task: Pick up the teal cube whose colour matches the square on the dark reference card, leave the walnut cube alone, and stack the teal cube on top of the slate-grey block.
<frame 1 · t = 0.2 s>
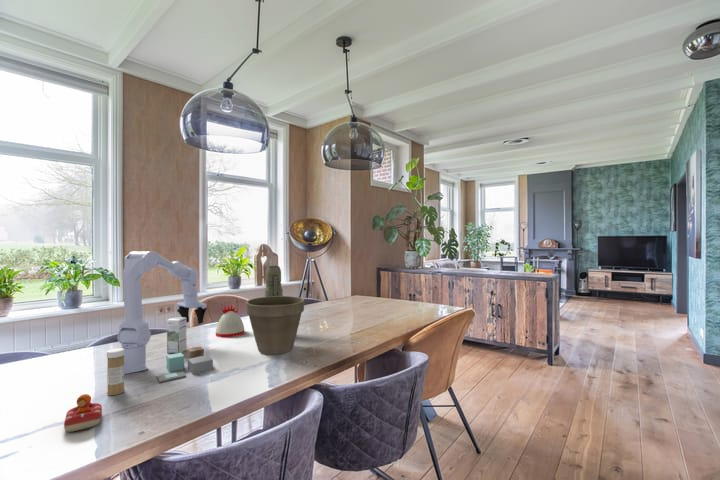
hand: (193, 322, 161), 10 cm above the table, tool pointing down, fingers open, 7 cm apart
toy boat: (83, 425, 91), on the table
walnut block: (195, 361, 139), on the table
plant pot: (276, 350, 153), on the table
green cactus: (274, 335, 178), on the table
sprinkles bottle: (115, 393, 110), on the table
syrup box: (177, 352, 152), on the table
teal block: (175, 368, 131), on the table
white domed piece: (230, 334, 182), on the table
reference card: (171, 377, 122), on the table
grey block: (200, 370, 130), on the table
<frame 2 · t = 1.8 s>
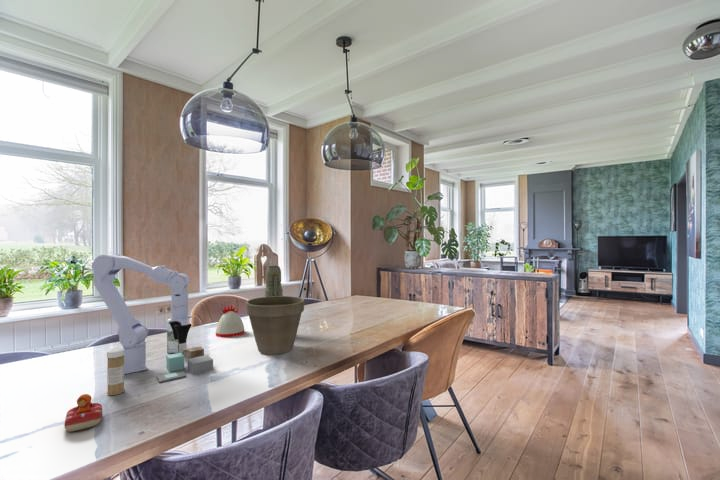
hand: (180, 341, 134), 9 cm above the table, tool pointing down, fingers open, 7 cm apart
nothing on the table moved.
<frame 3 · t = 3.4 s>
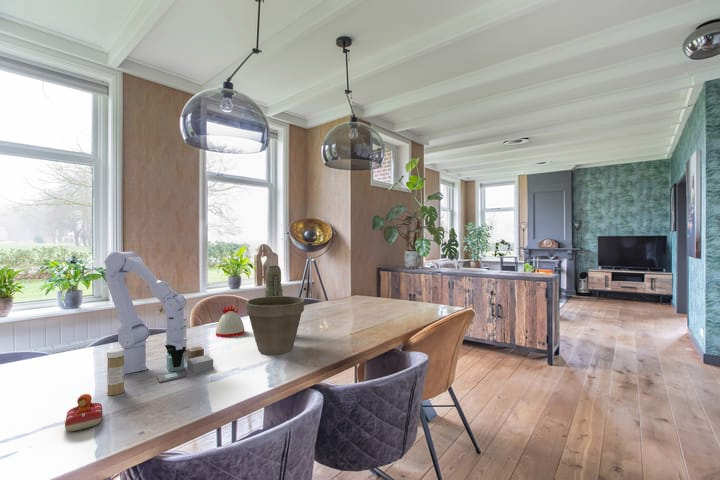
hand: (175, 364, 131), 1 cm above the table, tool pointing down, fingers closed on teal block, 5 cm apart
teal block: (175, 368, 131), on the table, touching gripper
everything else where it was.
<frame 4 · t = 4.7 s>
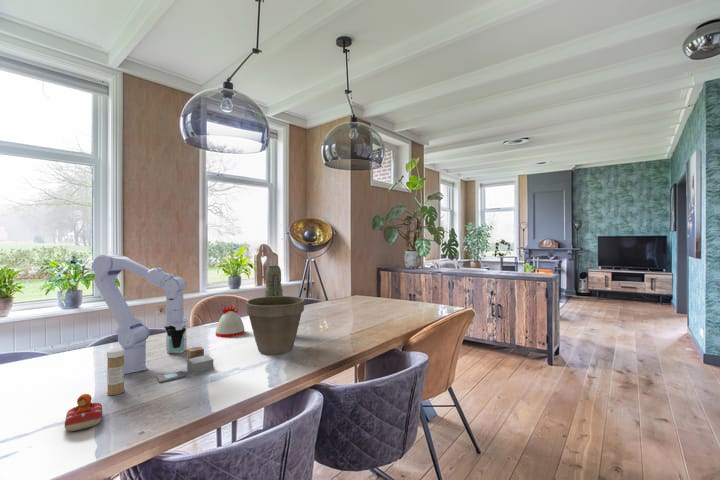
hand: (175, 346, 131), 8 cm above the table, tool pointing down, fingers closed on teal block, 5 cm apart
teal block: (175, 349, 131), point 7 cm above the table, touching gripper
everything else where it was.
when the fingers open (6 cm above the table, at t = 6.3 s): teal block stays where it is, point 4 cm above the table.
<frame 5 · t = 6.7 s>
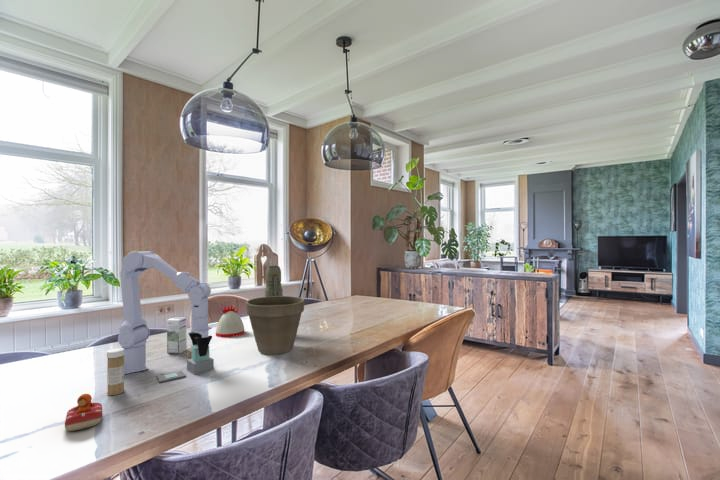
hand: (200, 353, 130), 6 cm above the table, tool pointing down, fingers open, 7 cm apart
teal block: (200, 359, 130), point 4 cm above the table
everything else where it was.
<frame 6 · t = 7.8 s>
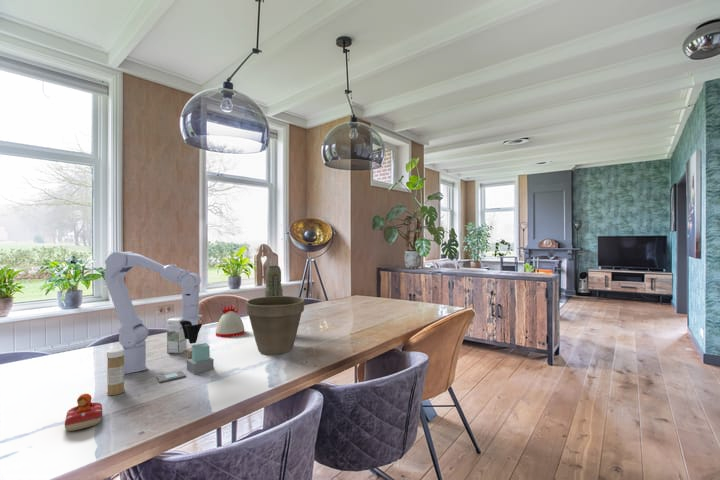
hand: (190, 340, 134), 10 cm above the table, tool pointing down, fingers open, 7 cm apart
nothing on the table moved.
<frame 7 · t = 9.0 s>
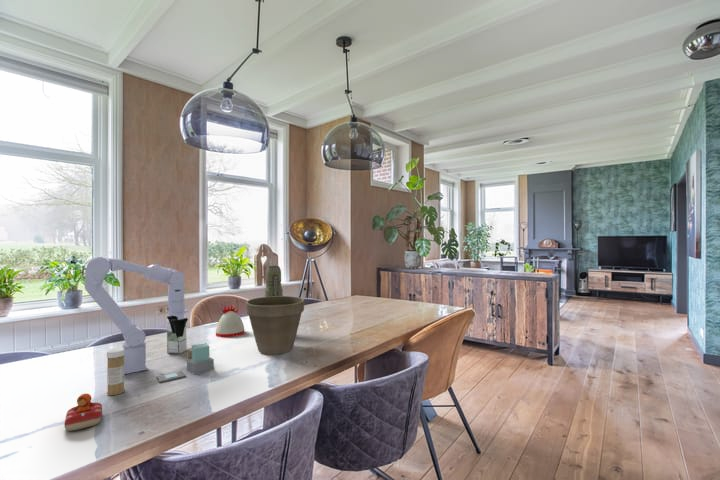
hand: (177, 334, 140), 10 cm above the table, tool pointing down, fingers open, 7 cm apart
teal block: (200, 359, 130), point 4 cm above the table, touching grey block
grey block: (200, 370, 130), on the table, touching teal block
everything else where it was.
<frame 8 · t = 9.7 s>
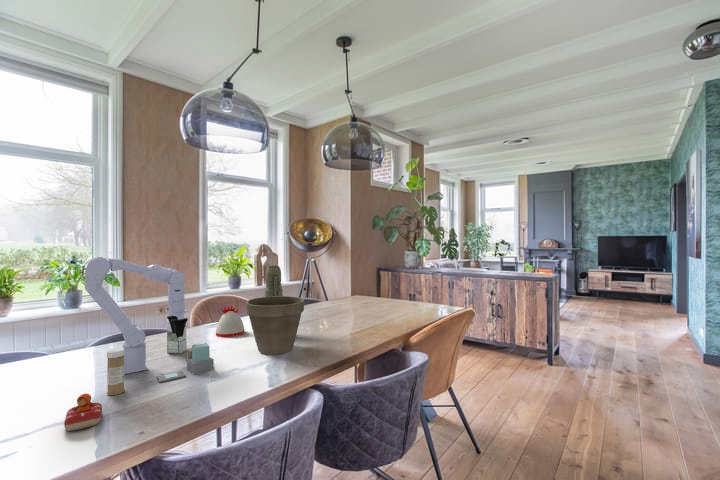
hand: (177, 334, 140), 10 cm above the table, tool pointing down, fingers open, 7 cm apart
nothing on the table moved.
at the end: teal block 0.3 cm off-centre on the grey block, point 4.0 cm above the grey block's base; teal block tilted 0°; walnut block moved 0.1 cm from its start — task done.
